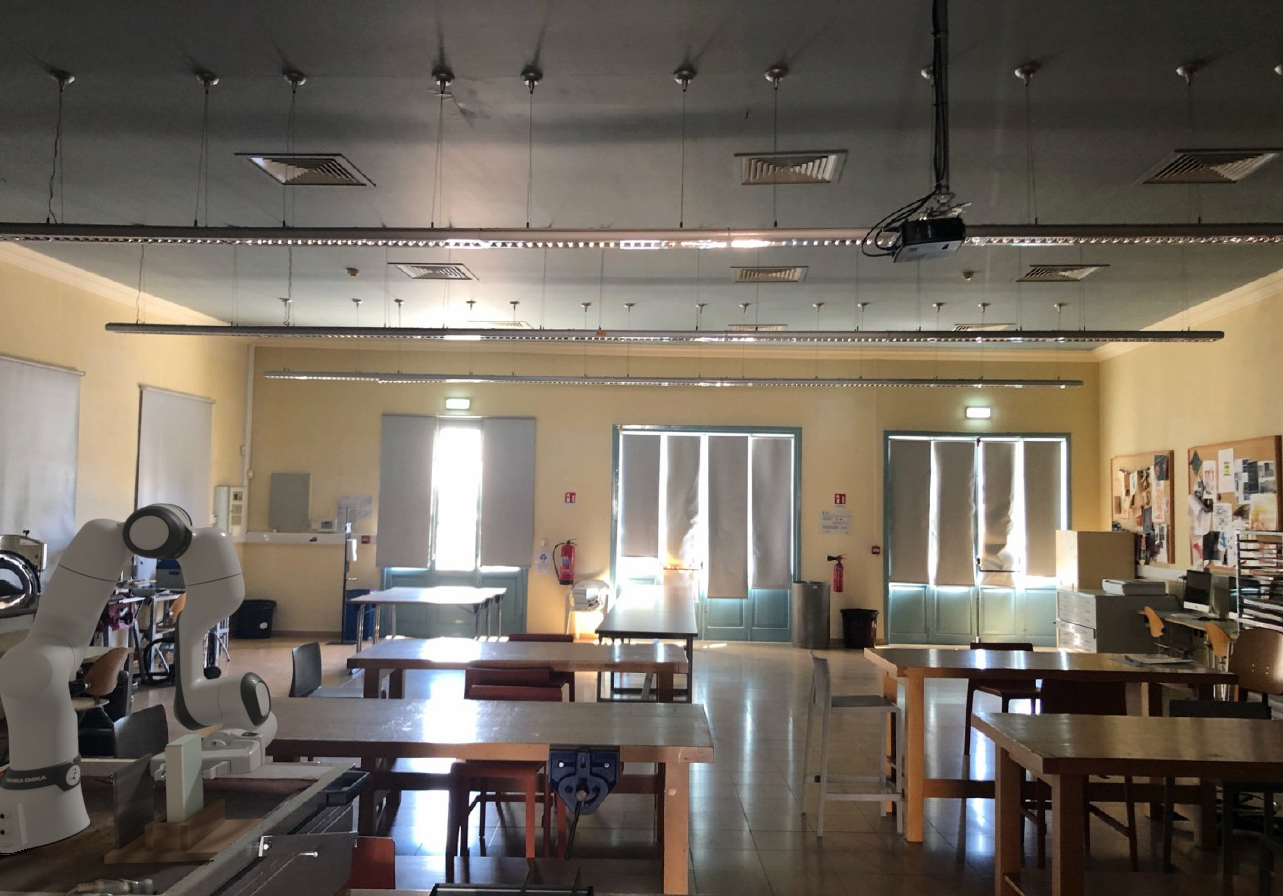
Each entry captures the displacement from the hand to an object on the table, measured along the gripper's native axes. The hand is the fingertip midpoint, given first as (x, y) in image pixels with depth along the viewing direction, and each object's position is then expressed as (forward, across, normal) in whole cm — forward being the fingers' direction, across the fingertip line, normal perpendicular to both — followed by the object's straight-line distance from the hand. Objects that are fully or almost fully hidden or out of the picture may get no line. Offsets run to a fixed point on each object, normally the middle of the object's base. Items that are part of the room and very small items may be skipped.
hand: (182, 776), depth 153 cm
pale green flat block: (-1, 0, +12) cm, 12 cm away
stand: (-1, 0, +13) cm, 13 cm away
